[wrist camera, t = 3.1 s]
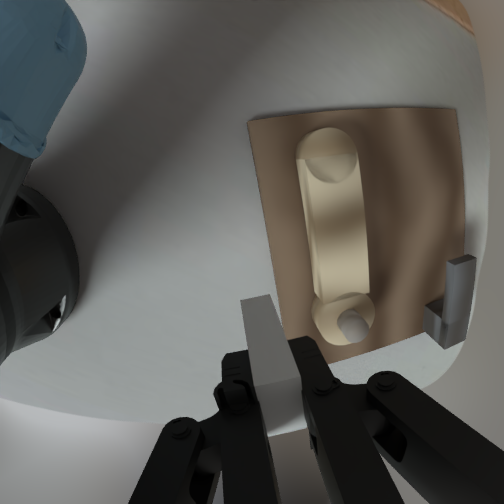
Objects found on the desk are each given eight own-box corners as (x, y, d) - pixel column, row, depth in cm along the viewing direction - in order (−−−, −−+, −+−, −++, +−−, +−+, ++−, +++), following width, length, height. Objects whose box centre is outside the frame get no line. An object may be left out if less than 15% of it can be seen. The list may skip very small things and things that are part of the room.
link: (363, 322, 27) (384, 347, 23) (313, 336, 27) (328, 365, 23) (345, 127, 22) (371, 122, 18) (284, 134, 22) (300, 128, 18)
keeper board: (289, 367, 29) (301, 403, 24) (246, 122, 23) (254, 111, 17) (452, 314, 30) (479, 335, 25) (448, 110, 24) (485, 106, 18)
